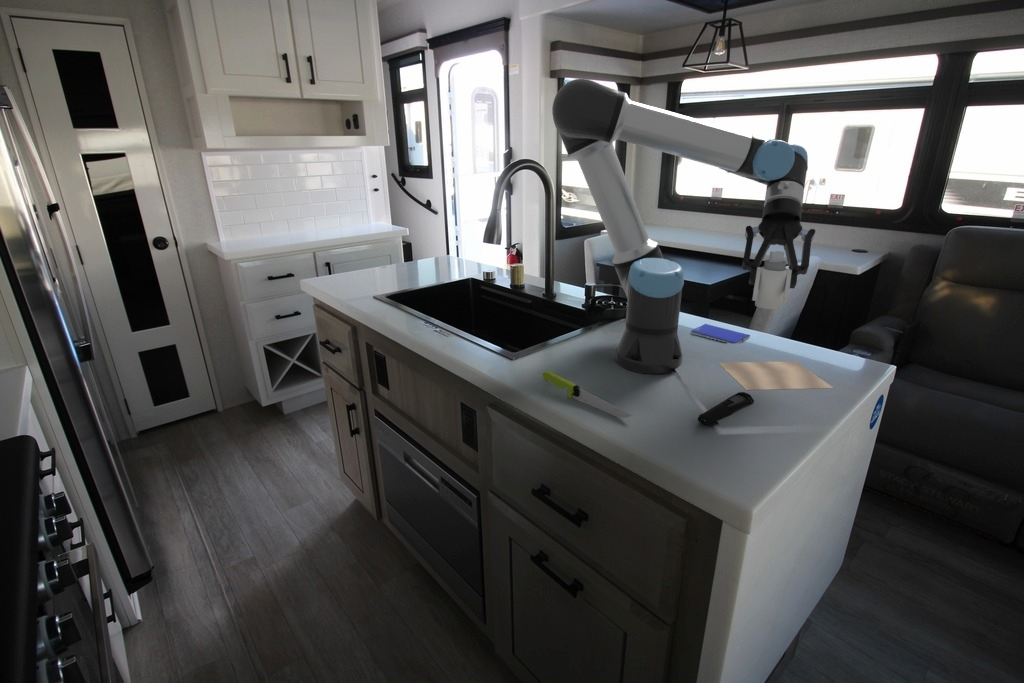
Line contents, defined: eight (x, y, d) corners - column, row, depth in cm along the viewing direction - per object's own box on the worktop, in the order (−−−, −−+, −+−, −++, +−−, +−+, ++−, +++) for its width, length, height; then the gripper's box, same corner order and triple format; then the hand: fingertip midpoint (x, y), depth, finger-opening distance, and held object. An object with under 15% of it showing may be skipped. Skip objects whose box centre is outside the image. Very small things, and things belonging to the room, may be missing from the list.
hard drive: (691, 330, 138) (736, 342, 129) (706, 323, 143) (750, 334, 134) (690, 335, 138) (735, 347, 130) (705, 328, 143) (749, 339, 135)
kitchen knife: (632, 427, 95) (634, 413, 93) (628, 429, 94) (630, 415, 93) (545, 381, 109) (546, 369, 108) (541, 383, 108) (542, 370, 107)
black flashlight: (690, 425, 94) (692, 410, 92) (737, 400, 102) (740, 386, 101) (708, 434, 91) (710, 418, 90) (755, 407, 99) (758, 393, 98)
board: (745, 394, 104) (746, 389, 104) (717, 366, 117) (718, 362, 117) (832, 392, 104) (833, 387, 104) (794, 365, 117) (795, 361, 117)
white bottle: (761, 309, 106) (771, 254, 101) (750, 302, 110) (759, 249, 106) (785, 309, 106) (796, 254, 102) (773, 302, 110) (783, 249, 106)
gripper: (739, 194, 112) (723, 284, 104) (833, 197, 105) (824, 294, 97) (737, 216, 119) (722, 302, 111) (826, 220, 111) (816, 312, 103)
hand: (769, 298), depth 104 cm, fingers closed on white bottle, 5 cm apart
